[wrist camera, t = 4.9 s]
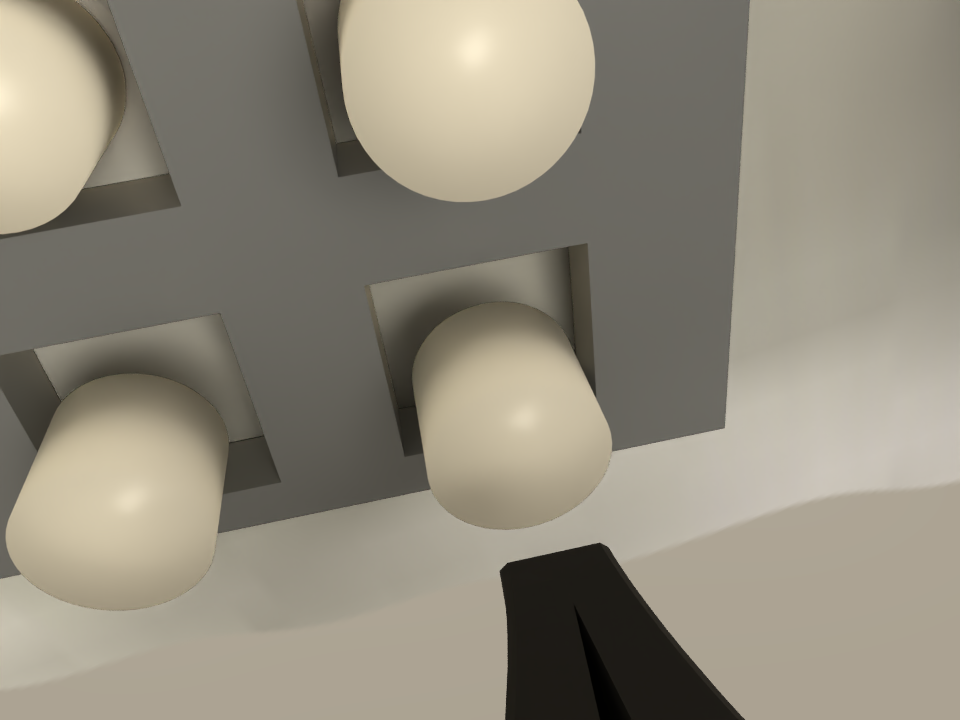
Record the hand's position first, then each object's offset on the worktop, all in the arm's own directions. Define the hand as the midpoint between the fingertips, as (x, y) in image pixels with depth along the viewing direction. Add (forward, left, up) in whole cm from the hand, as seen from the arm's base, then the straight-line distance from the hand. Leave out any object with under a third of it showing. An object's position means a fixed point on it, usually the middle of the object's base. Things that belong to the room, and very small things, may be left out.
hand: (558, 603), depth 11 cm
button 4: (+4, -4, -5) cm, 8 cm away
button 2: (+9, 0, -7) cm, 11 cm away
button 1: (+4, +5, -5) cm, 8 cm away
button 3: (0, 0, -5) cm, 5 cm away
